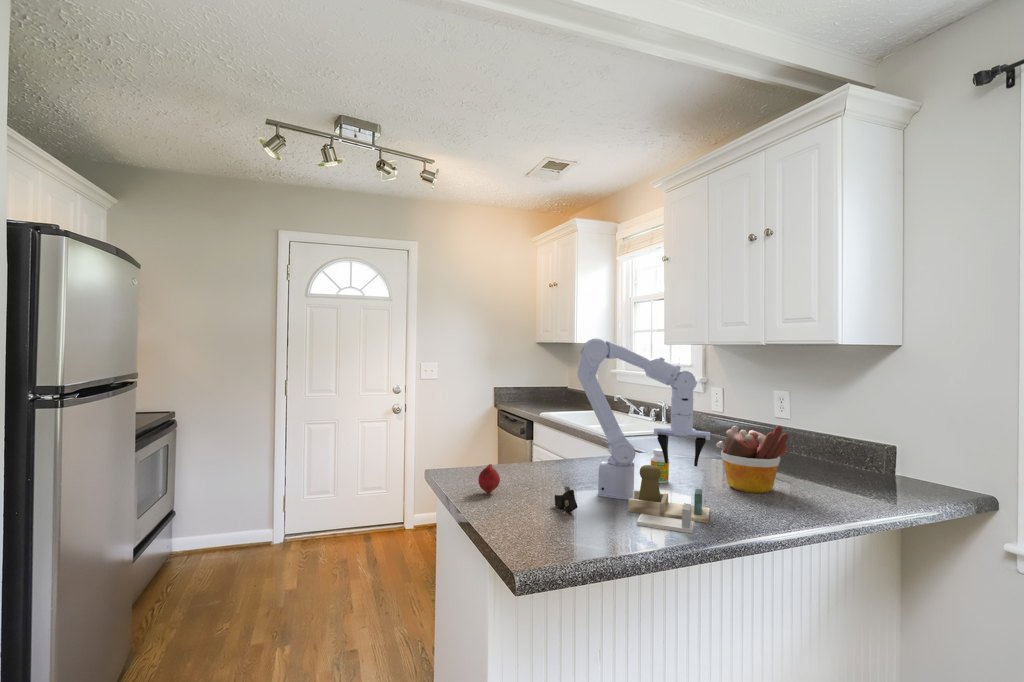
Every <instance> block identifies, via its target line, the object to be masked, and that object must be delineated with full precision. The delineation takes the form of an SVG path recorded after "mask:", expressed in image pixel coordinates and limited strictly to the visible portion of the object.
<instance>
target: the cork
mask: <svg viewBox="0 0 1024 682" xmlns="http://www.w3.org/2000/svg"><path fill="white" fill-rule="evenodd" d="M639 475H640V478H641V480H640V481H641V482H640V487H639V488H640V489H639V490H640V493H639V500H645V501H653V502H661V499H660V493H661V491H660V483H659V481H658V480H659V478H660V476H661V471H660V469H659V468H658V467H657V466H653V465H651V464H644V465H641V467H640V468H639Z"/></svg>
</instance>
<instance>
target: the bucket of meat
mask: <svg viewBox="0 0 1024 682" xmlns="http://www.w3.org/2000/svg"><path fill="white" fill-rule="evenodd" d="M739 428H740V427H739V426H738V425H733V426H731V429H728V430H726V433H725V434H726V435H727V436H726V437H725V438H724V440H723V441H722V440H720V441H718V442H717V443H716V445H715V447H717V448H718V449H721V451H720V454H721V458H722V462H723V466H724V471H725V476H726V481H727V484H728V485H729V487H731V488H732V489H734V490H737V491H740V492H745V493H750V494H766V493H769V492H771V491H773V488H774V484H775V480H776V476H777V474H778V468H779V466H780V465H779V464H780V462H781V456H782V455H783V454H785V453H786V452H787V450H788V446H787V441H788V439H789V435H788V433H783V427H782V426H780V425H777V426H775V427H774V429H773V431H771V432H768V433H767V434H766V435H765V434H764V433H761V432H758V431H756V430H754V429H751V430H749V431H747V430H746V429H740V431H739Z"/></svg>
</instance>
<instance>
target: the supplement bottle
mask: <svg viewBox="0 0 1024 682" xmlns="http://www.w3.org/2000/svg"><path fill="white" fill-rule="evenodd" d="M652 453H653V455H652V456H651V457H650V465H653V466H657V467H658V468H659V469H660V471H661V476H660V478H659V480H658V481H659V484H668V482H669V479H670V477H669V474H670V473H669V472H670V458H668V463H665V461H664V455H663V452H662V449H661V448H653V452H652Z"/></svg>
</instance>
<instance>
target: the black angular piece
mask: <svg viewBox="0 0 1024 682" xmlns="http://www.w3.org/2000/svg"><path fill="white" fill-rule="evenodd" d="M563 488H564V489H563V490H564V492H563V494H559V495H558V494H554V505H555V507H556V508H558V509H564V511H565V513H572V512H574V511H575V510H576V509H577V508H578V507H579V506H578V503H577V500H576V497H575V496H576V495H575V490H574V489H571V487H570V485H565V486H564V487H563Z"/></svg>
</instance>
